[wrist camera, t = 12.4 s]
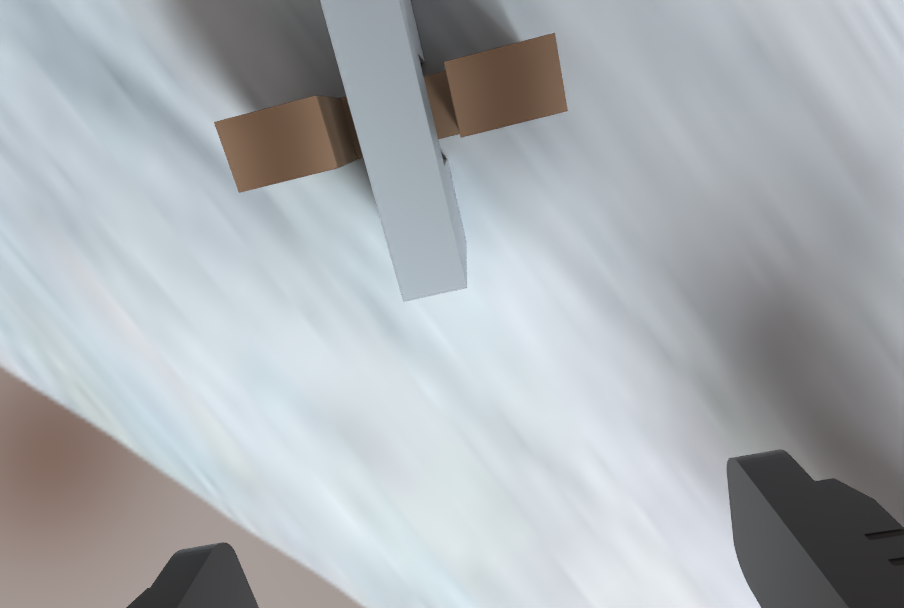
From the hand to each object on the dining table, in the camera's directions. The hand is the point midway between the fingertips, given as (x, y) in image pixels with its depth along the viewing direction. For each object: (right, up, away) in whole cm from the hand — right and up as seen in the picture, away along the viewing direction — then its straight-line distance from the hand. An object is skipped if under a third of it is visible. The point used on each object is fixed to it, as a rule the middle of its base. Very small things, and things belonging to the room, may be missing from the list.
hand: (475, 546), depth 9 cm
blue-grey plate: (-2, +13, +18) cm, 22 cm away
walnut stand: (-2, +13, +18) cm, 22 cm away
